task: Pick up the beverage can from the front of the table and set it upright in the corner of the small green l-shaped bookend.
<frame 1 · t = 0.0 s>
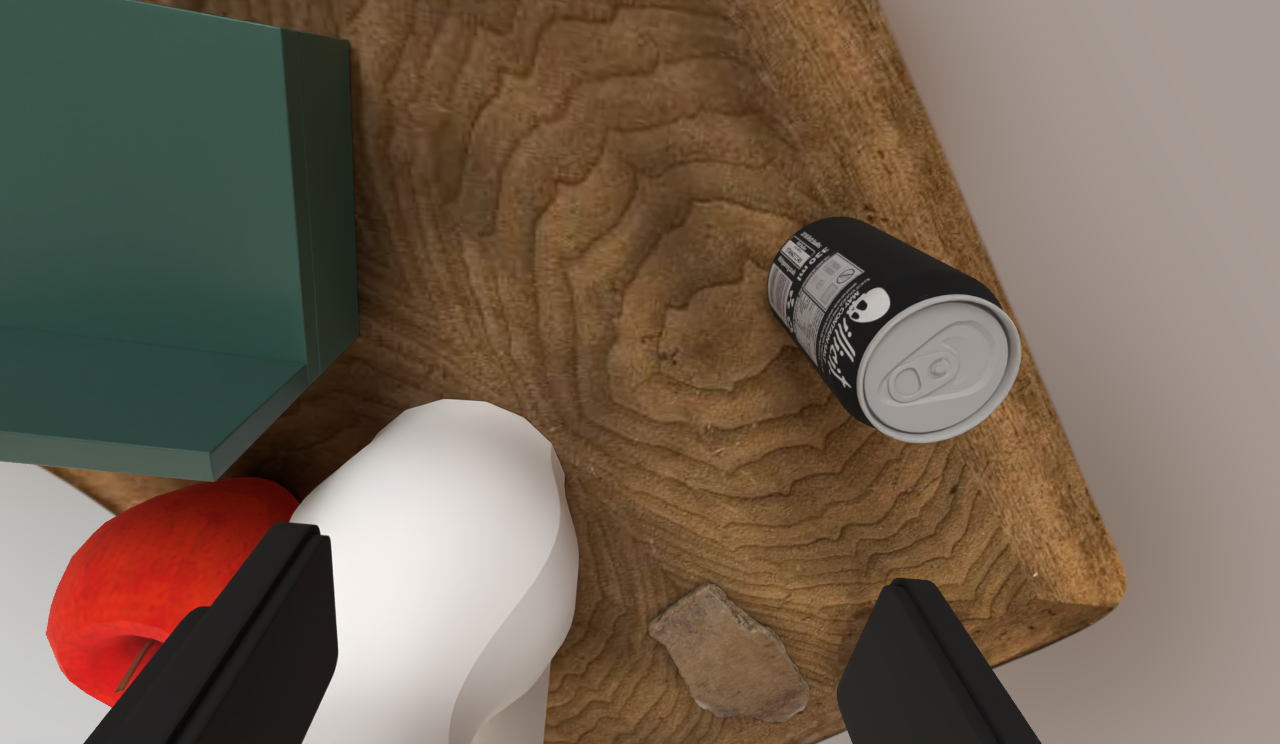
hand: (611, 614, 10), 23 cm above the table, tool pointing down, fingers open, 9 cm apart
green l-shaped bookend: (199, 179, 28), on the table
cylindrical container: (502, 636, 42), on the table
vase: (467, 483, 36), on the table
apple: (264, 502, 36), on the table
beverage can: (823, 275, 32), on the table
pottery shard: (733, 653, 44), on the table
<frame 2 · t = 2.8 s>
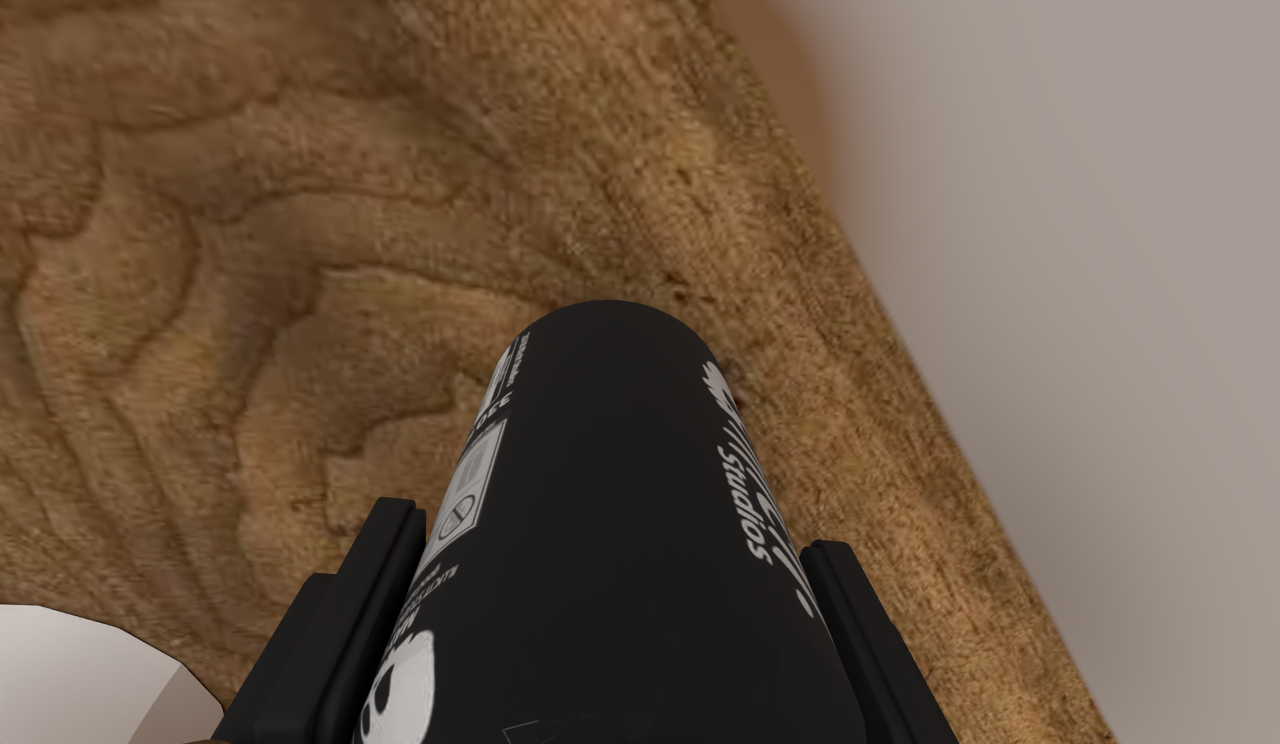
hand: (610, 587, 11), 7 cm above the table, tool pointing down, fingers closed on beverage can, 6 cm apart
vase: (60, 717, 22), on the table
beverage can: (608, 396, 17), on the table, touching gripper
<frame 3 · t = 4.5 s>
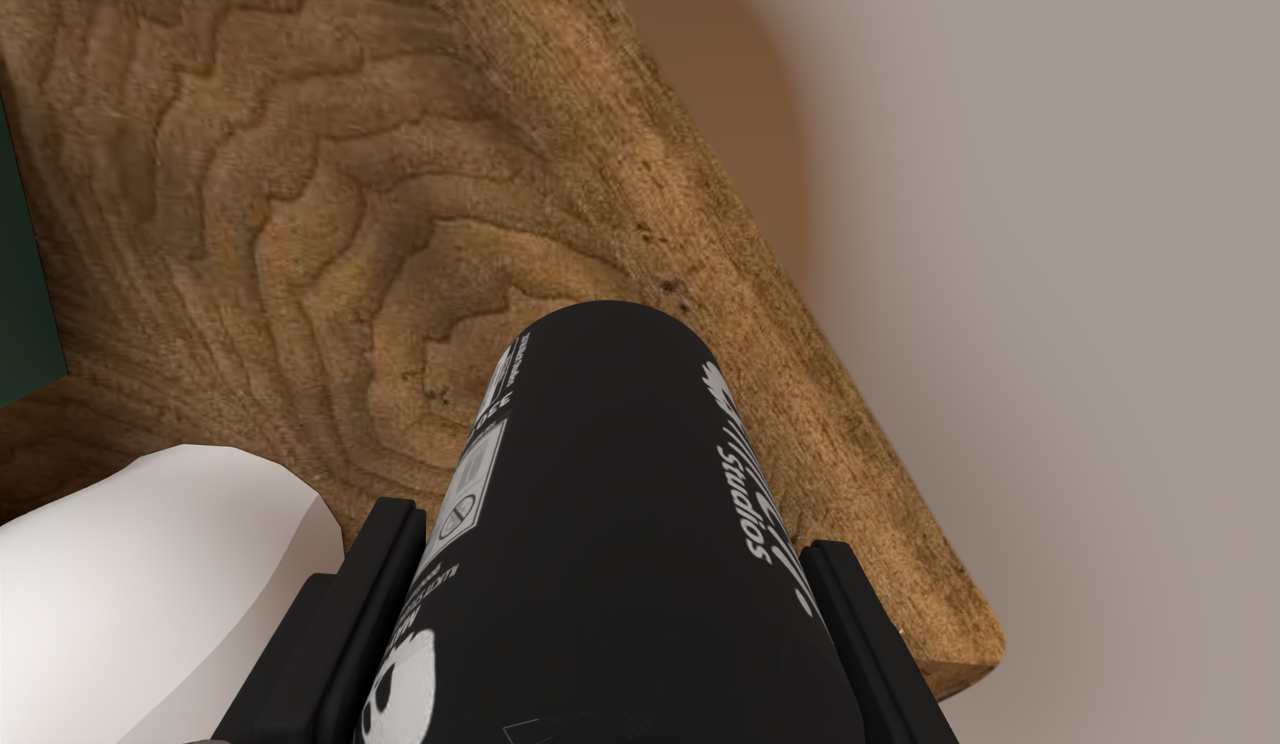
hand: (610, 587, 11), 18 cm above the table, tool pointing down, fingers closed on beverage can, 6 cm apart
vase: (230, 537, 32), on the table
beverage can: (608, 396, 17), point 11 cm above the table, touching gripper
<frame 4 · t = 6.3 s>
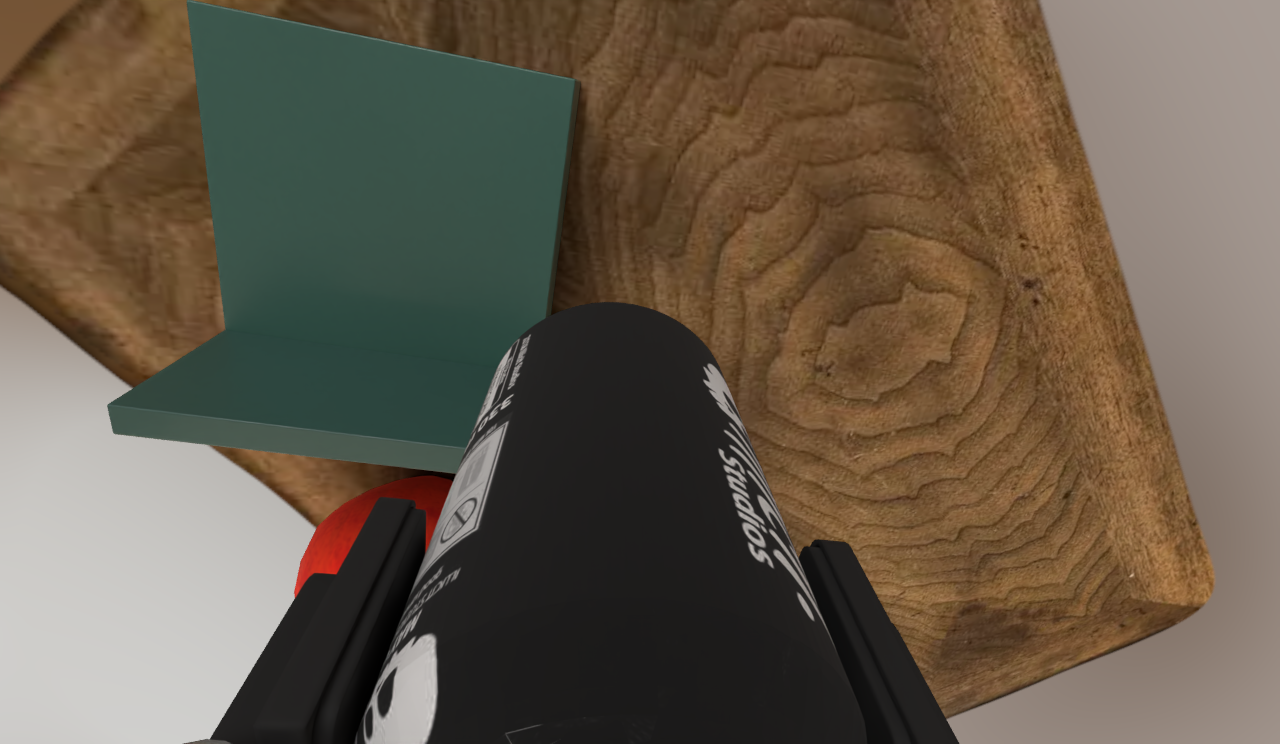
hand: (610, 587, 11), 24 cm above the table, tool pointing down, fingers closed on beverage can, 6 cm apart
green l-shaped bookend: (426, 202, 30), on the table
apple: (433, 499, 38), on the table
beverage can: (609, 397, 17), point 16 cm above the table, touching gripper
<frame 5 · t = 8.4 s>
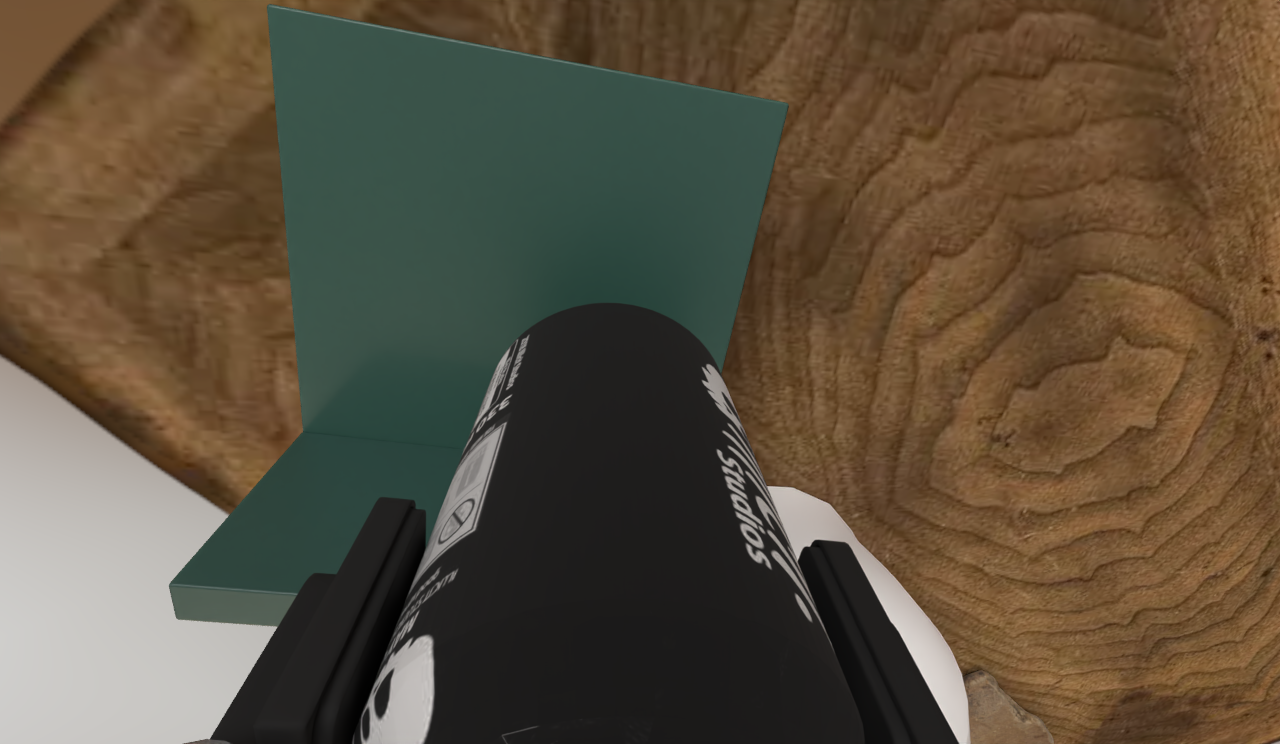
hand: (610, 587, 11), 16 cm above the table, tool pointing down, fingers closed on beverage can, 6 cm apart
green l-shaped bookend: (539, 253, 24), on the table
vase: (748, 571, 33), on the table
beverage can: (608, 398, 17), point 9 cm above the table, touching gripper
pottery shard: (982, 738, 41), on the table
when the fingers open (13 cm above the table, at t = 9.8 s): beverage can stays where it is, resting on green l-shaped bookend.
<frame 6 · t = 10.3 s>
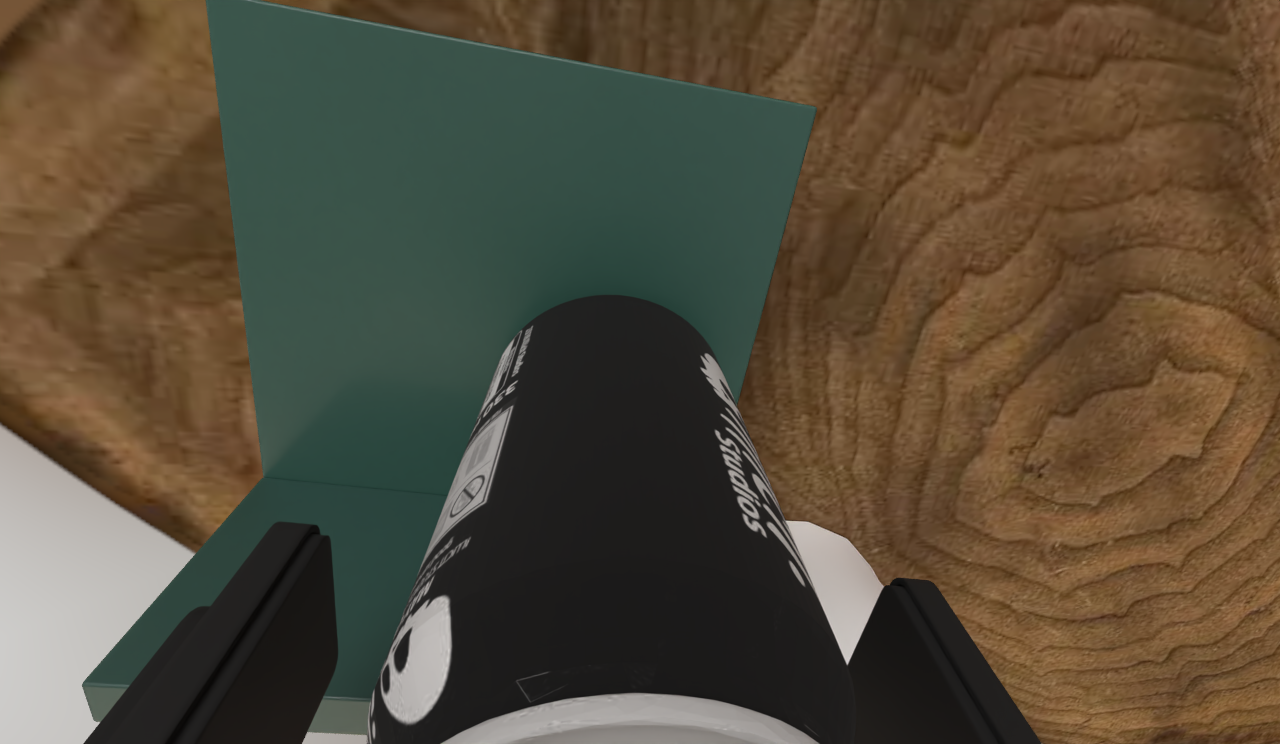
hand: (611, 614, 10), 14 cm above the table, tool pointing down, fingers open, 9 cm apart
green l-shaped bookend: (531, 272, 22), on the table
vase: (758, 609, 30), on the table
beverage can: (609, 389, 18), point 6 cm above the table, touching green l-shaped bookend
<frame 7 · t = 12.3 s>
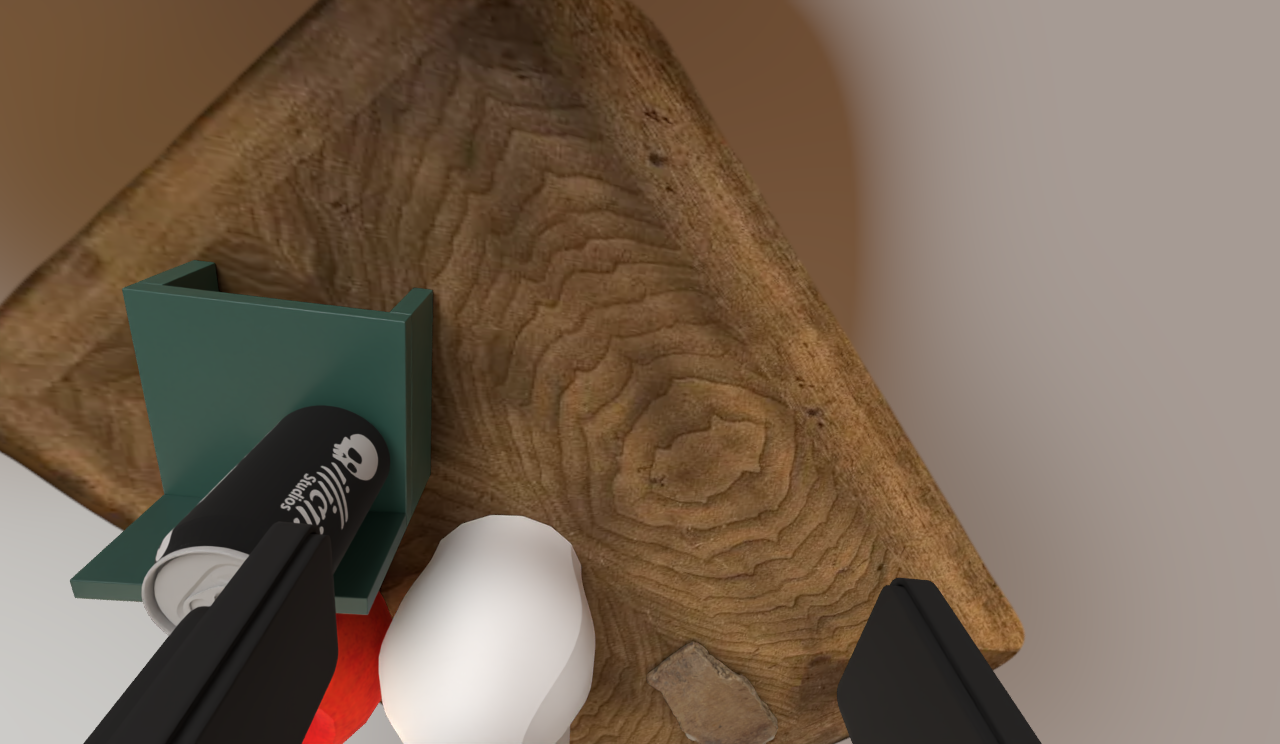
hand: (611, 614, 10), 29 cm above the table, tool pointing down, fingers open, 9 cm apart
green l-shaped bookend: (323, 377, 39), on the table
vase: (507, 573, 47), on the table
apple: (352, 591, 47), on the table
beverage can: (338, 446, 35), point 6 cm above the table, touching green l-shaped bookend
pottery shard: (715, 694, 55), on the table
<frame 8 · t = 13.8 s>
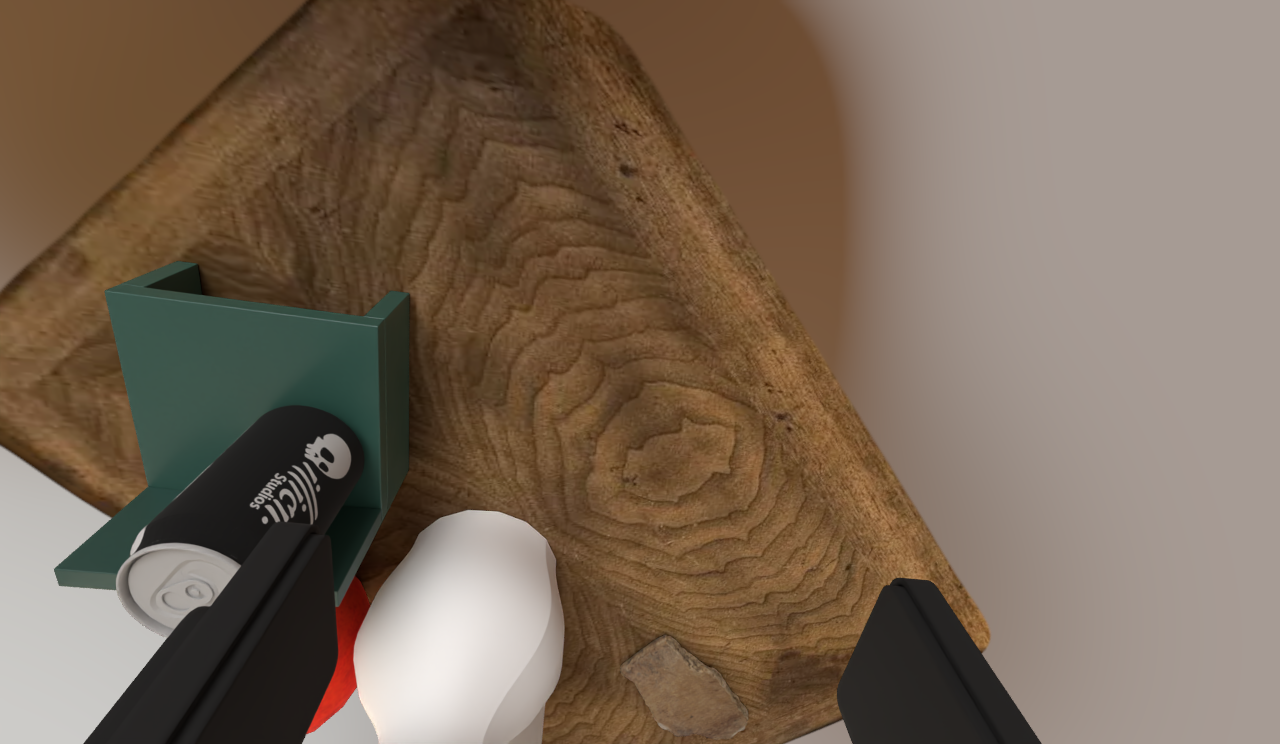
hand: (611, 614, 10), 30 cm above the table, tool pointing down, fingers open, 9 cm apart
green l-shaped bookend: (303, 375, 40), on the table
cylindrical container: (509, 674, 55), on the table
vase: (484, 566, 49), on the table
apple: (334, 580, 49), on the table
beverage can: (315, 444, 36), point 6 cm above the table, touching green l-shaped bookend
pottery shard: (687, 686, 57), on the table
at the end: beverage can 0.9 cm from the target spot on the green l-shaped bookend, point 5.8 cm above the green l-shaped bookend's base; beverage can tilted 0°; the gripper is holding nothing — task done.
